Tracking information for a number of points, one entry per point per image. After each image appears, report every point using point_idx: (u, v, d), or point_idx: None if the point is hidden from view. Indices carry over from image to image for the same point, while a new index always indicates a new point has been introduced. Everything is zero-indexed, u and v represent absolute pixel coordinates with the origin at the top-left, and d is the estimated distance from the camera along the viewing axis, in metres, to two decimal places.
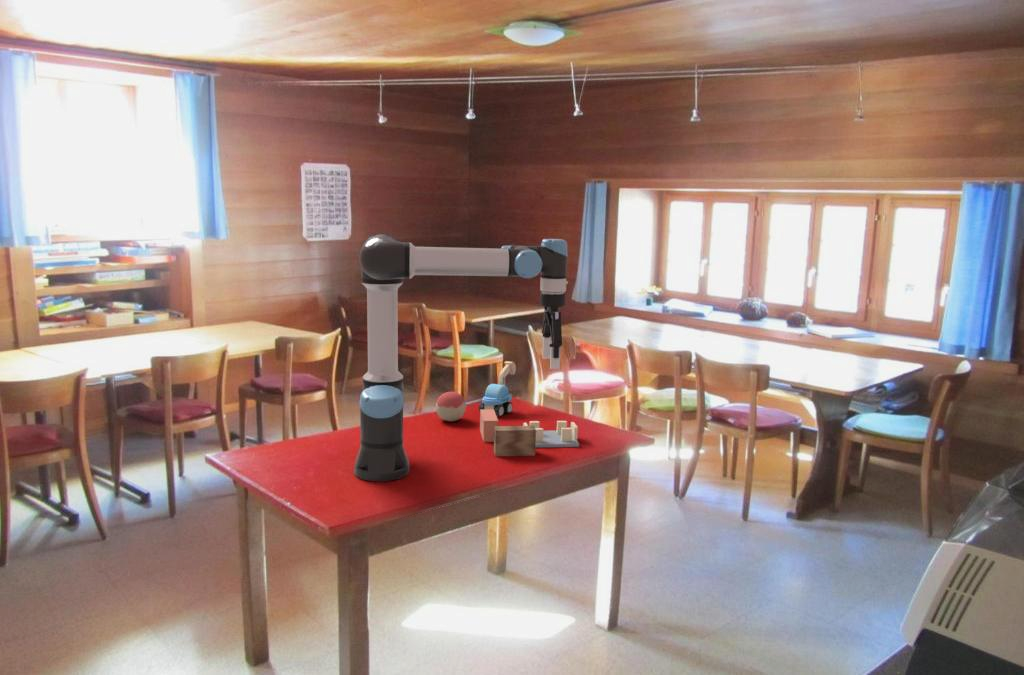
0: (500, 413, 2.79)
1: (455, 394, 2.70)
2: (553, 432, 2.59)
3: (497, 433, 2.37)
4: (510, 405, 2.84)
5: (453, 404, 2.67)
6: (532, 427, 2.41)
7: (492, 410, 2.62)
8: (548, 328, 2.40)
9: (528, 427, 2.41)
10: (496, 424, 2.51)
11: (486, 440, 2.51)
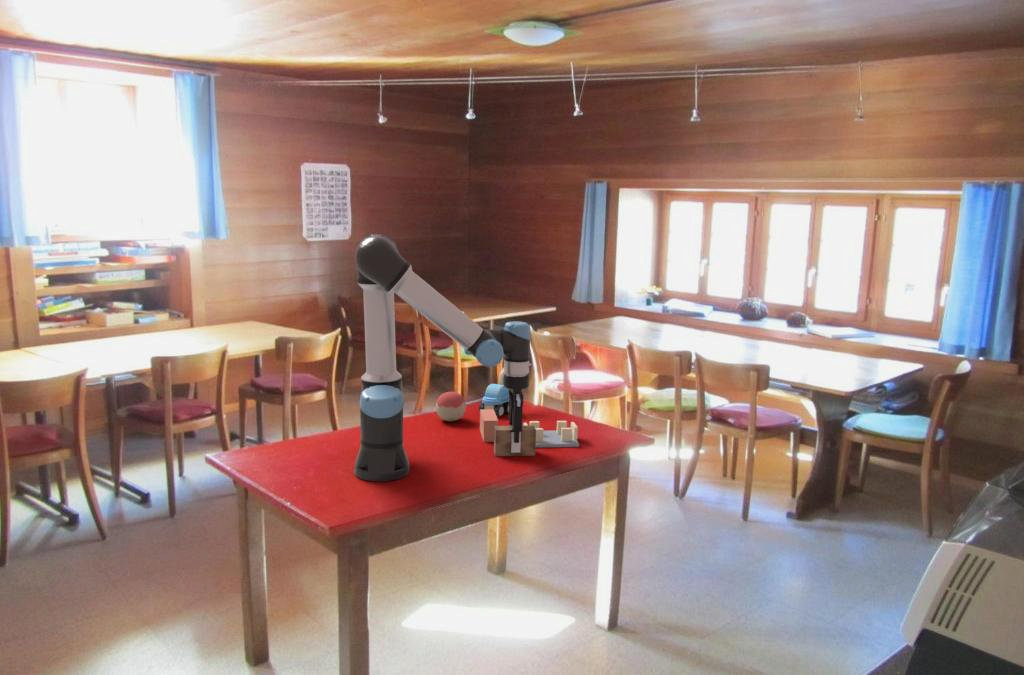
0: (500, 413, 2.79)
1: (455, 394, 2.70)
2: (553, 432, 2.59)
3: (497, 433, 2.37)
4: None
5: (453, 404, 2.67)
6: (532, 427, 2.41)
7: (492, 410, 2.62)
8: None
9: (528, 427, 2.41)
10: (496, 424, 2.51)
11: (486, 440, 2.51)
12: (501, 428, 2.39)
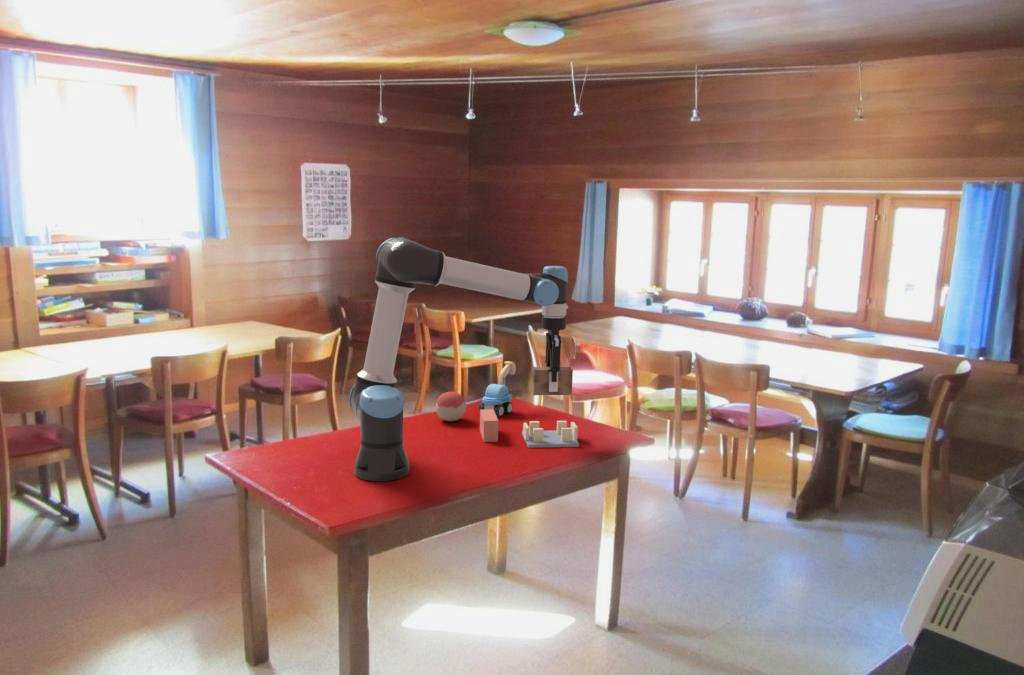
0: (500, 413, 2.79)
1: (455, 394, 2.70)
2: (553, 432, 2.59)
3: (536, 372, 2.48)
4: (510, 405, 2.84)
5: (453, 404, 2.67)
6: (569, 368, 2.51)
7: (492, 410, 2.62)
8: None
9: (565, 368, 2.51)
10: (496, 424, 2.51)
11: (486, 440, 2.51)
12: (539, 368, 2.49)
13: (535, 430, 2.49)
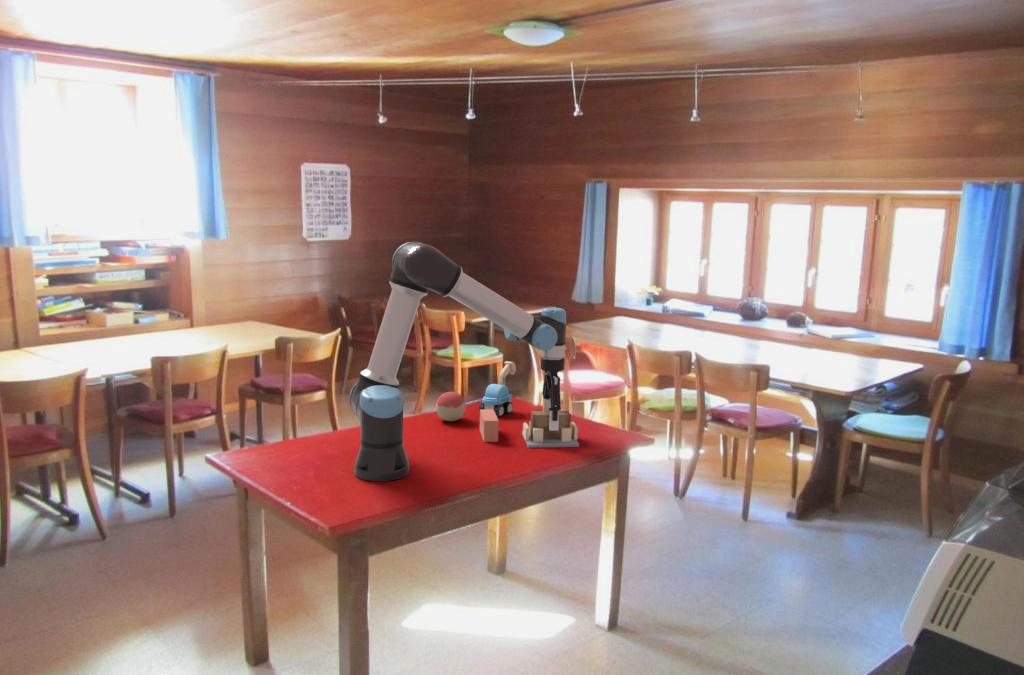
0: (500, 413, 2.79)
1: (455, 394, 2.70)
2: None
3: (534, 417, 2.50)
4: (510, 405, 2.84)
5: (453, 404, 2.67)
6: (567, 412, 2.54)
7: (492, 410, 2.62)
8: (548, 390, 2.56)
9: (563, 412, 2.54)
10: (496, 424, 2.51)
11: (486, 440, 2.51)
12: (538, 413, 2.52)
13: (535, 430, 2.49)
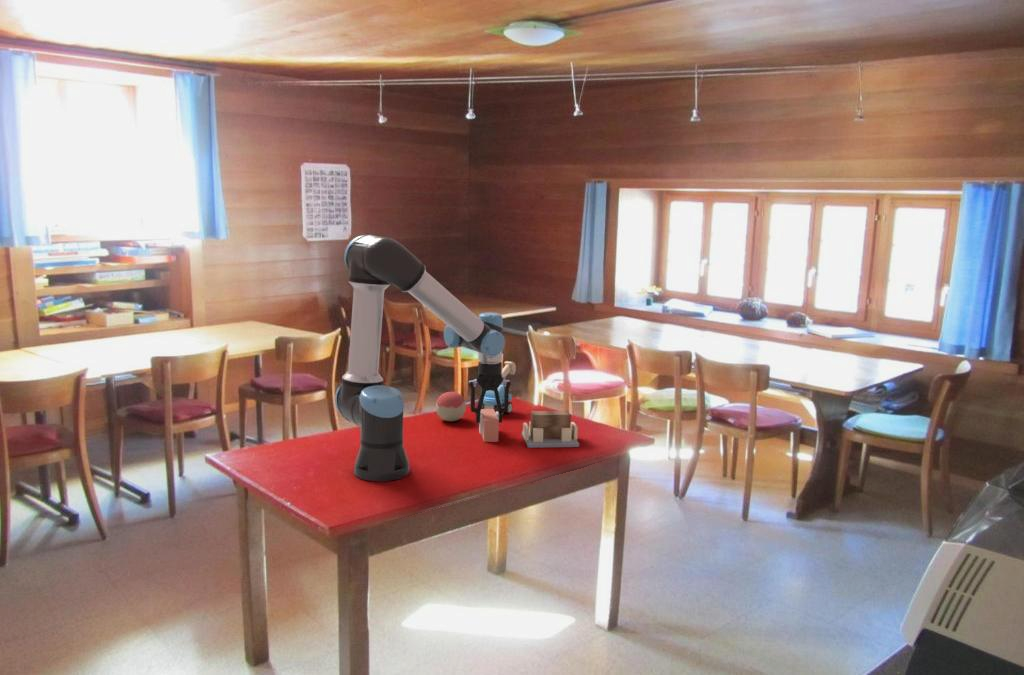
0: None
1: (455, 394, 2.70)
2: None
3: (534, 417, 2.50)
4: (510, 405, 2.84)
5: (453, 404, 2.67)
6: (567, 412, 2.54)
7: (492, 410, 2.62)
8: None
9: (563, 412, 2.54)
10: (497, 424, 2.51)
11: (487, 440, 2.51)
12: (538, 413, 2.52)
13: (535, 430, 2.49)
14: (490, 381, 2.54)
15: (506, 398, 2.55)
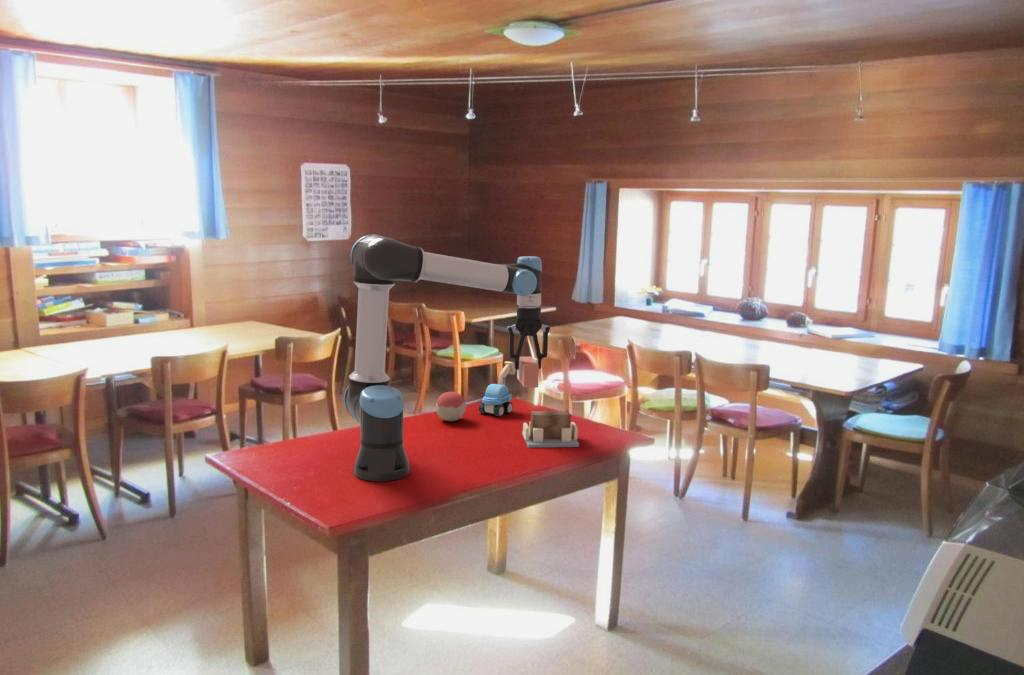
0: (500, 413, 2.79)
1: (455, 394, 2.70)
2: None
3: (534, 417, 2.50)
4: (510, 405, 2.84)
5: (453, 404, 2.67)
6: (567, 412, 2.54)
7: (529, 357, 2.57)
8: (534, 345, 2.51)
9: (563, 412, 2.54)
10: (537, 369, 2.46)
11: (526, 385, 2.47)
12: (538, 413, 2.52)
13: (535, 430, 2.49)
14: (529, 326, 2.49)
15: (545, 344, 2.50)
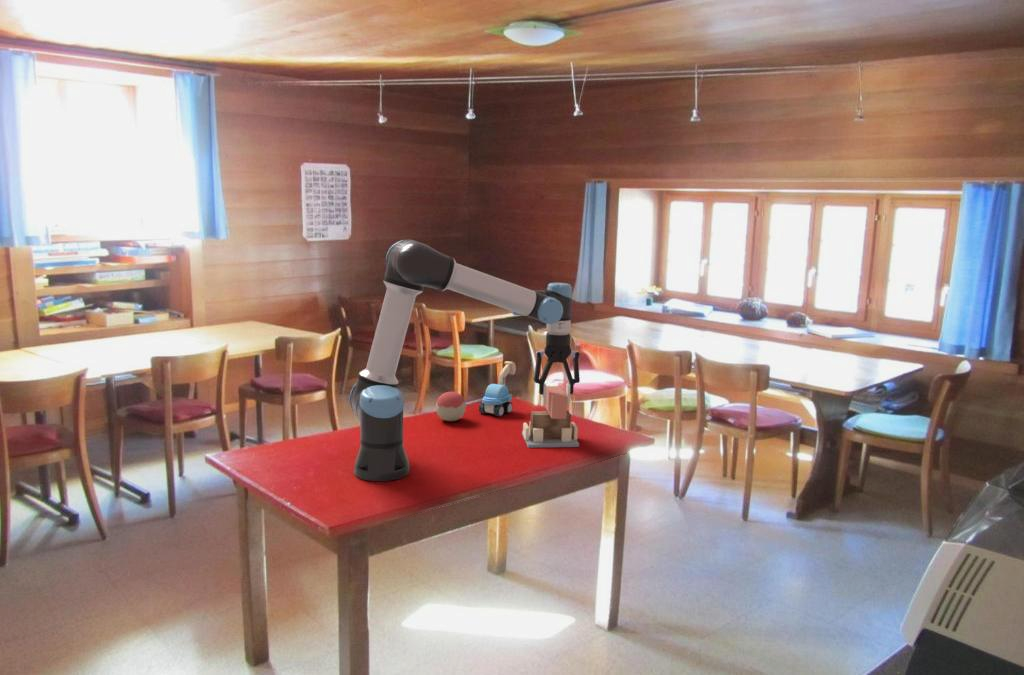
0: (500, 413, 2.79)
1: (455, 394, 2.70)
2: None
3: (534, 417, 2.50)
4: (510, 405, 2.84)
5: (453, 404, 2.67)
6: (567, 412, 2.54)
7: (558, 387, 2.57)
8: (565, 371, 2.51)
9: None
10: (565, 400, 2.46)
11: (554, 416, 2.47)
12: (538, 413, 2.52)
13: (535, 430, 2.49)
14: (558, 353, 2.49)
15: (576, 369, 2.50)
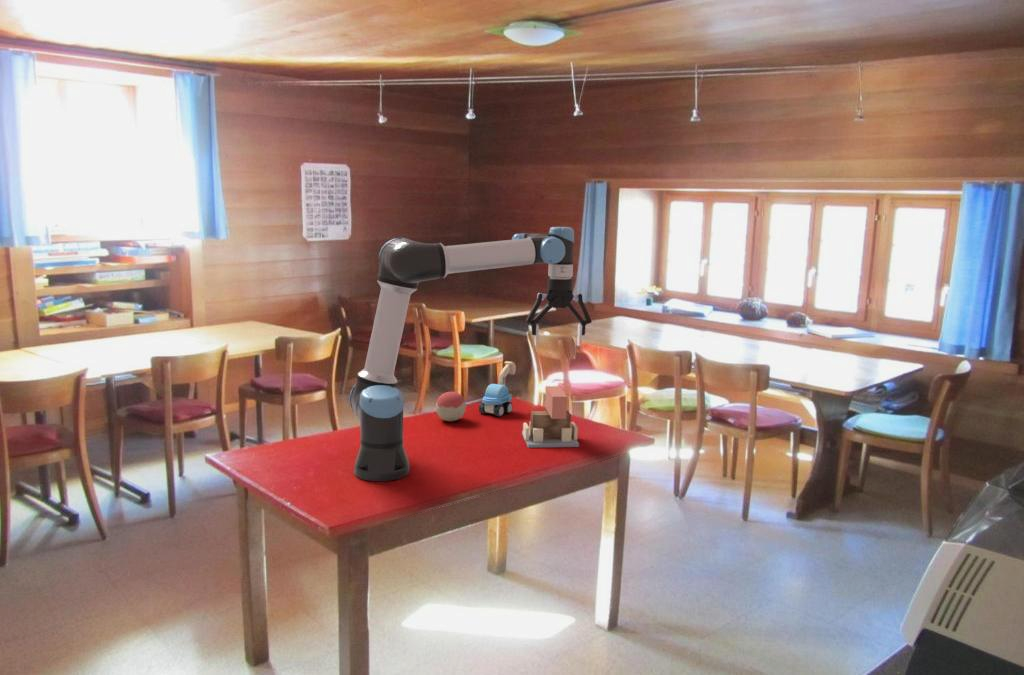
0: (500, 413, 2.79)
1: (455, 394, 2.70)
2: None
3: (534, 417, 2.50)
4: (510, 405, 2.84)
5: (453, 404, 2.67)
6: (567, 412, 2.54)
7: (558, 387, 2.57)
8: (574, 314, 2.48)
9: None
10: (565, 400, 2.46)
11: (554, 416, 2.47)
12: (538, 413, 2.52)
13: (535, 430, 2.49)
14: (560, 298, 2.45)
15: (584, 311, 2.47)
